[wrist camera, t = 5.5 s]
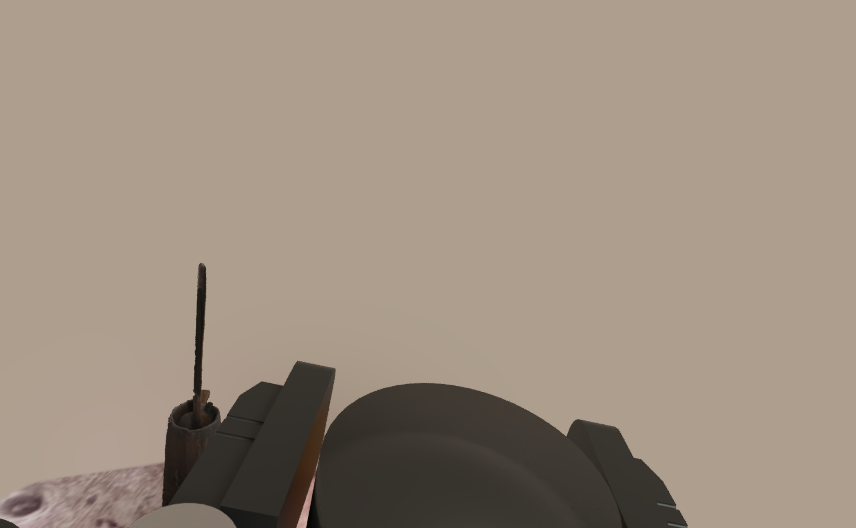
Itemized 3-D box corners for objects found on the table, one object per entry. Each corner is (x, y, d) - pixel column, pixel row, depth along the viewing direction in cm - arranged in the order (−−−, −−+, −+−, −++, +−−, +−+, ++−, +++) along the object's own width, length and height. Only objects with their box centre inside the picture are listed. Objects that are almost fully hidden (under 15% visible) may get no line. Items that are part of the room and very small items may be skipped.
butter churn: (173, 491, 50) (193, 220, 41) (266, 517, 50) (307, 249, 41) (107, 573, 42) (114, 252, 33) (219, 605, 41) (257, 289, 32)
